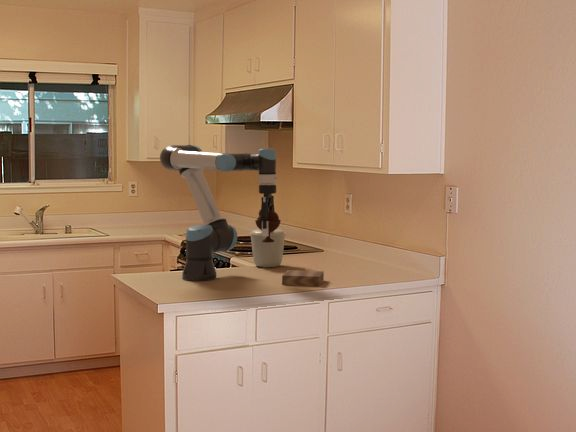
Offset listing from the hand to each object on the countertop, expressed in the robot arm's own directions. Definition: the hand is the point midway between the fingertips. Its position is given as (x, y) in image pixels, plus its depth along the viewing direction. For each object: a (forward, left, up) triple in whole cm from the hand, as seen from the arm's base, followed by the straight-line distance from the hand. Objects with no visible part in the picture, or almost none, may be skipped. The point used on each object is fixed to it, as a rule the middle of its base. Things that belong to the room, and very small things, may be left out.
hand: (268, 234), depth 336 cm
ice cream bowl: (0, 0, -3) cm, 3 cm away
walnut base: (+16, 0, -20) cm, 26 cm away
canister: (-8, +41, -21) cm, 47 cm away
